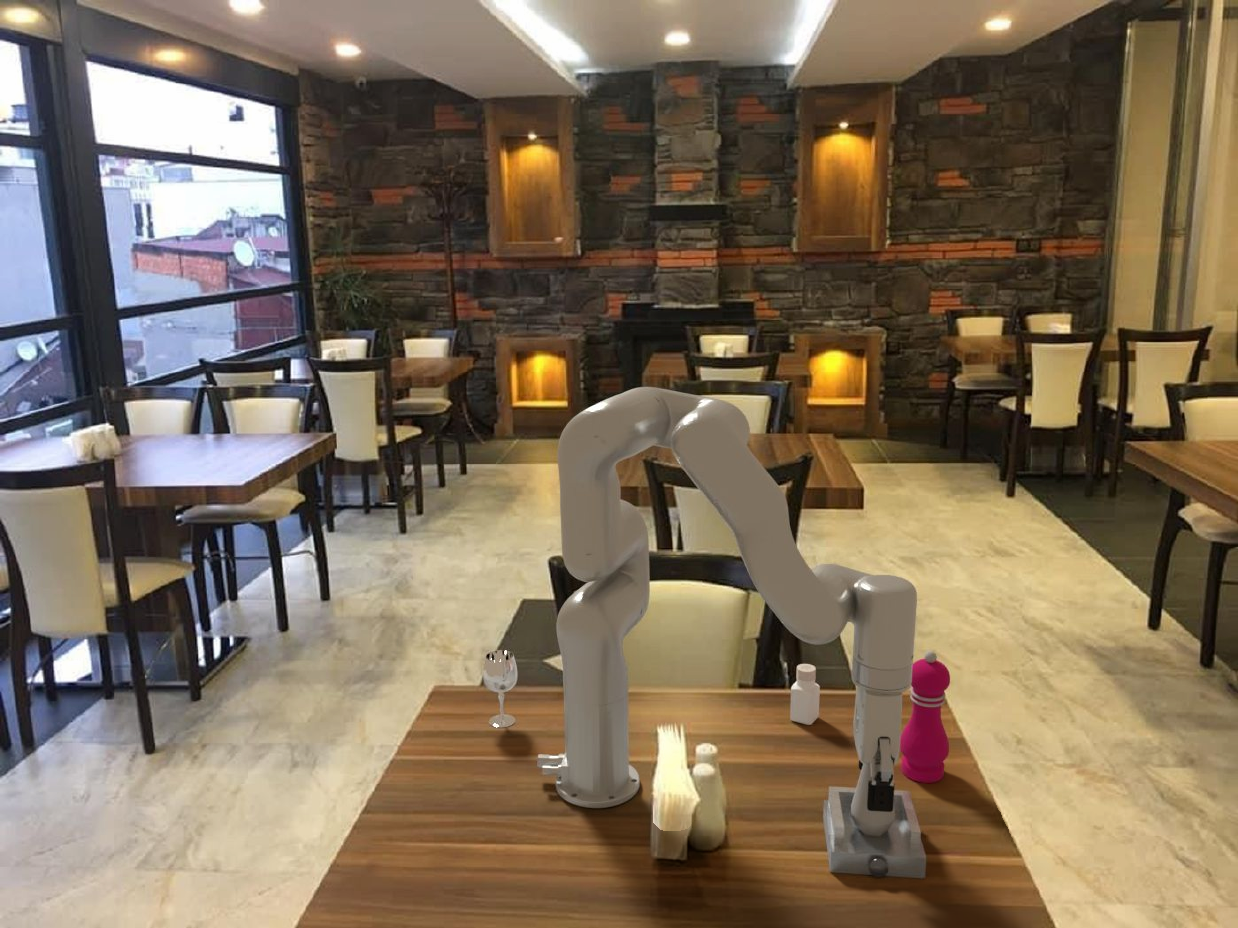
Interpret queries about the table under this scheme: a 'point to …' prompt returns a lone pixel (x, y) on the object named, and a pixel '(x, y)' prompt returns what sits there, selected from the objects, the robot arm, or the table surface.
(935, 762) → the pepper mill
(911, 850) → the grey square tray
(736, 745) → the table surface
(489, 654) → the wineglass
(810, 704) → the salt shaker
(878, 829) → the salt shaker
